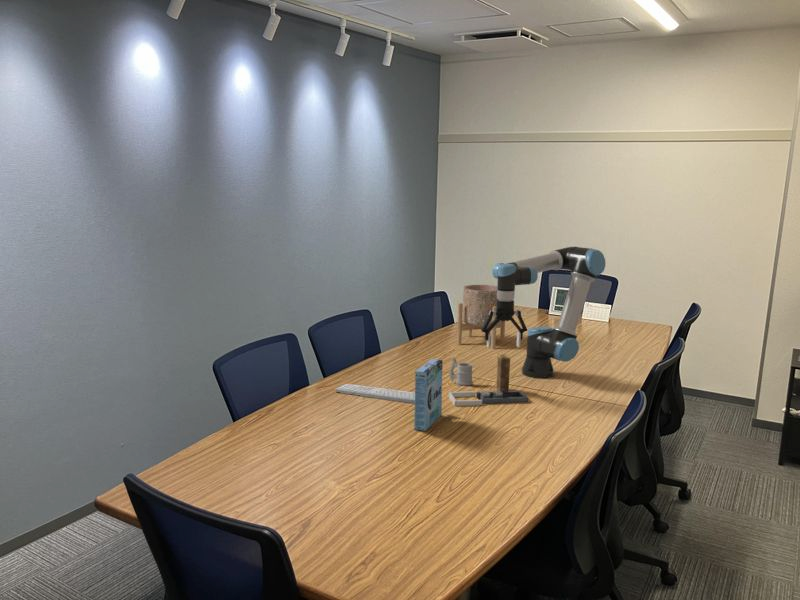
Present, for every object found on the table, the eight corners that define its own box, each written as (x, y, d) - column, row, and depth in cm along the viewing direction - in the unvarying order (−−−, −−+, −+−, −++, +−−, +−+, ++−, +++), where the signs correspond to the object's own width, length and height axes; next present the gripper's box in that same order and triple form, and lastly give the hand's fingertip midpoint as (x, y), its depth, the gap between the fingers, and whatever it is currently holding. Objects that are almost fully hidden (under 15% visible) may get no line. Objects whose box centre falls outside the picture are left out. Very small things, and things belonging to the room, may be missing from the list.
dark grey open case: (520, 397, 291) (521, 390, 290) (528, 404, 281) (528, 397, 281) (476, 398, 288) (476, 392, 287) (482, 406, 278) (482, 399, 278)
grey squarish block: (487, 398, 285) (487, 390, 285) (489, 401, 281) (490, 393, 281) (480, 398, 285) (480, 390, 284) (482, 401, 281) (483, 393, 280)
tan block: (504, 390, 299) (506, 354, 296) (508, 394, 295) (510, 357, 292) (496, 390, 299) (498, 354, 296) (499, 394, 294) (501, 357, 291)
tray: (474, 397, 289) (474, 391, 288) (481, 407, 277) (482, 400, 276) (448, 398, 287) (448, 392, 286) (454, 408, 275) (455, 401, 275)
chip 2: (499, 397, 286) (499, 390, 286) (502, 401, 282) (502, 393, 282) (492, 398, 286) (493, 390, 285) (495, 401, 282) (495, 393, 281)
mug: (467, 389, 301) (468, 363, 298) (445, 384, 307) (445, 358, 305) (475, 384, 307) (476, 359, 304) (453, 380, 313) (454, 355, 311)
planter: (495, 349, 371) (496, 292, 365) (456, 344, 380) (457, 289, 374) (505, 340, 391) (507, 286, 385) (468, 336, 400) (469, 283, 394)
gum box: (425, 431, 250) (427, 372, 246) (413, 429, 252) (414, 371, 247) (442, 414, 268) (443, 359, 263) (430, 413, 269) (431, 358, 265)
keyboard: (438, 398, 289) (438, 393, 289) (429, 407, 278) (430, 401, 277) (346, 385, 304) (346, 380, 304) (334, 393, 293) (334, 388, 292)
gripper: (530, 297, 295) (527, 344, 299) (475, 298, 291) (473, 345, 295) (536, 301, 287) (533, 348, 291) (479, 301, 284) (477, 349, 288)
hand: (503, 347), depth 293 cm, fingers open, 13 cm apart
